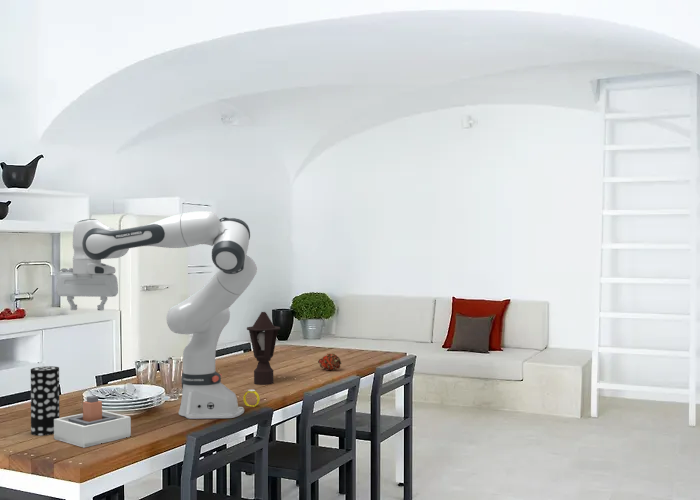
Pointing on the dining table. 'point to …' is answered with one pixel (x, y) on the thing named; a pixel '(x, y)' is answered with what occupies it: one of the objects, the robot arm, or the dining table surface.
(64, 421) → the walled box
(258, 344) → the lantern
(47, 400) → the spotted tube
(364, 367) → the dining table surface
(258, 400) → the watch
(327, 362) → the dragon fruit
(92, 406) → the connector
